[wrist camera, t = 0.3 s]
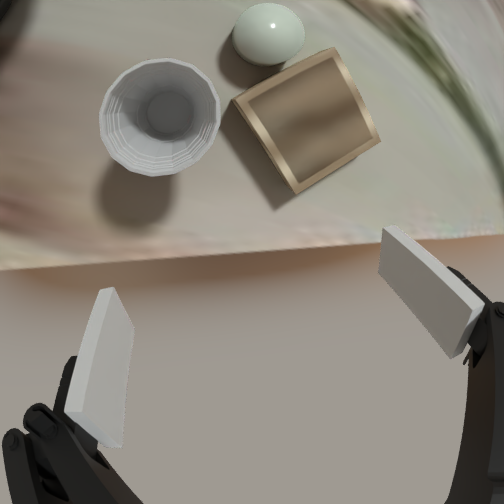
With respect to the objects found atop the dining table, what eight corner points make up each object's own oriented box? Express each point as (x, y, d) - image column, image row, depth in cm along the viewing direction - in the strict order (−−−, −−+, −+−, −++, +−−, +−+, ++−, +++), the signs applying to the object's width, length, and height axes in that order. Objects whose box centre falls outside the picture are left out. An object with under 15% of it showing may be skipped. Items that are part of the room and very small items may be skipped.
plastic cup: (206, 158, 36) (210, 183, 26) (123, 151, 33) (94, 174, 23) (221, 76, 31) (233, 64, 21) (135, 68, 28) (108, 55, 18)
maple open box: (231, 99, 33) (235, 99, 29) (321, 50, 31) (334, 46, 27) (286, 185, 40) (295, 194, 36) (365, 136, 38) (381, 141, 34)
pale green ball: (219, 28, 28) (222, 20, 24) (273, 3, 27) (281, -7, 23) (253, 77, 32) (260, 74, 28) (305, 50, 31) (316, 46, 27)
